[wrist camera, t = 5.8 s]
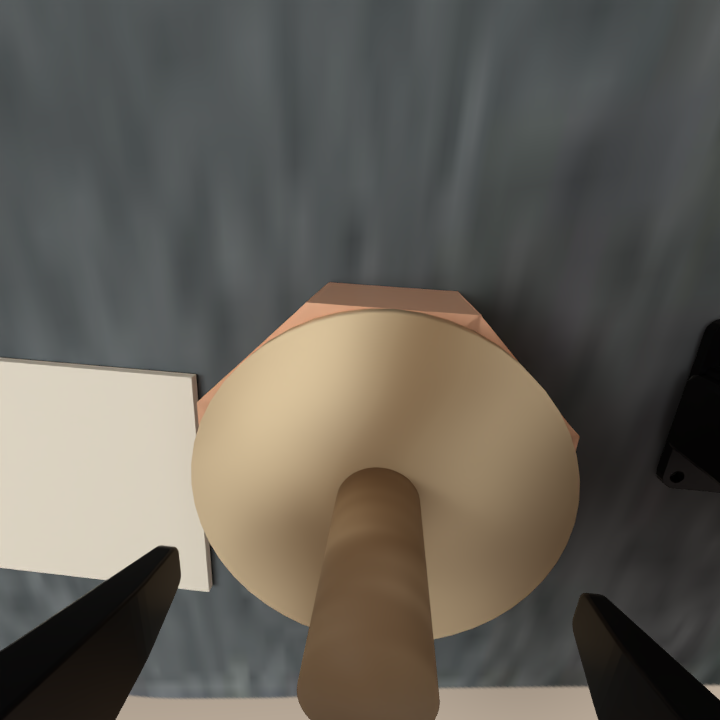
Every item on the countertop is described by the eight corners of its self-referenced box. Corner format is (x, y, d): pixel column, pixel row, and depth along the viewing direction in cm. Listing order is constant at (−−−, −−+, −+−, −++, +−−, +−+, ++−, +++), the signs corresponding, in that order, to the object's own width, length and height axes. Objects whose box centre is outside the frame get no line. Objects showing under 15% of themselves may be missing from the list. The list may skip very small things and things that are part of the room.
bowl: (551, 297, 14) (610, 324, 10) (497, 548, 17) (526, 638, 14) (241, 275, 14) (187, 293, 11) (250, 522, 18) (212, 601, 14)
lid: (611, 325, 10) (870, 442, 5) (527, 637, 14) (616, 914, 8) (190, 293, 11) (-22, 363, 5) (213, 600, 14) (101, 834, 9)
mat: (196, 374, 16) (191, 377, 16) (212, 584, 19) (208, 591, 19) (-63, 352, 17) (-73, 354, 16) (-1, 560, 20) (-9, 566, 20)
